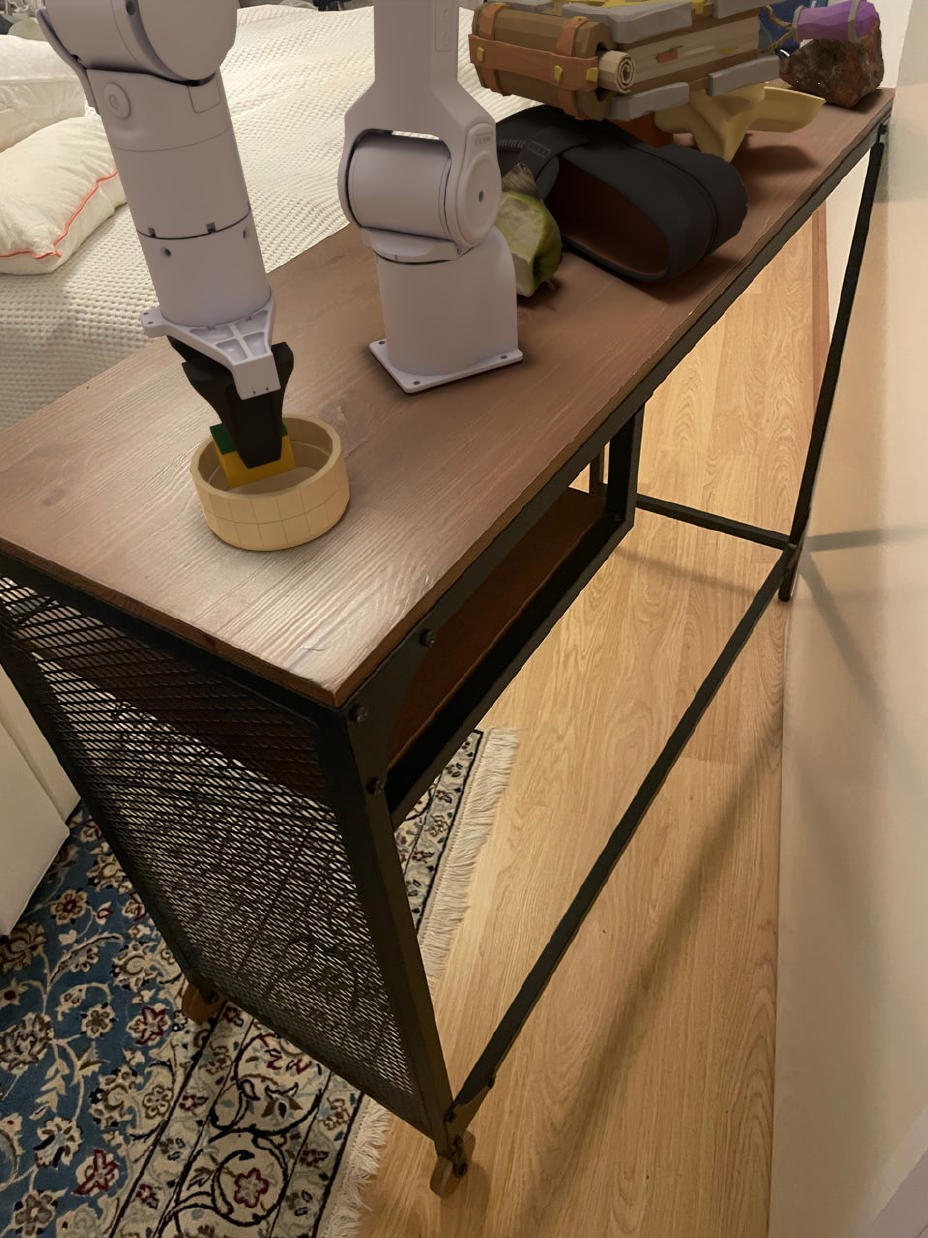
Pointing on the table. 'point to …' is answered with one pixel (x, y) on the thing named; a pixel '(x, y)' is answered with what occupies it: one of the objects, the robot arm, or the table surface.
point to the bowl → (277, 491)
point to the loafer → (624, 192)
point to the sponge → (236, 468)
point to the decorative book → (639, 49)
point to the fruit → (528, 231)
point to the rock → (837, 67)
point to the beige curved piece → (738, 116)
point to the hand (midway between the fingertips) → (255, 447)
